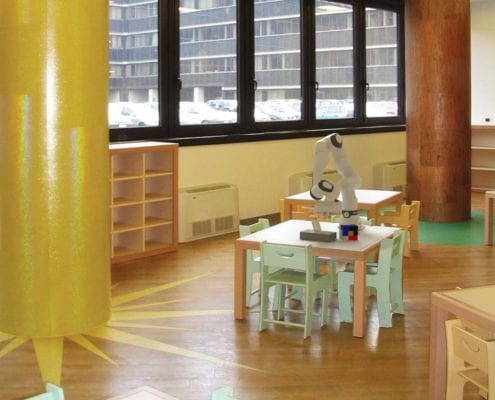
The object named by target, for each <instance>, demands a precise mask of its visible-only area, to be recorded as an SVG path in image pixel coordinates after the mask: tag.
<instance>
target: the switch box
mask: <svg viewBox="0 0 495 400" xmlns="http://www.w3.org/2000/svg"><path fill="white" fill-rule="evenodd" d="M321 230H322V229H321ZM337 234H338V233H337V231H331V230H325V229H324V230H322V231H321V232H317V231H314V229H310V228H308V229H307V228H306V229H304V230H301V231H299V240H305V239H306V240H307V241H317V242H324V241H326V243H330V242H333V241H335V240H337V237H338V236H337Z"/></svg>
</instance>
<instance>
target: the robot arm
mask: <svg viewBox="0 0 495 400" xmlns="http://www.w3.org/2000/svg"><path fill="white" fill-rule="evenodd" d="M330 153H331V157H332V160H333V163H334V166H335V168H336V171H337V172H338V173H339V174H340V175H341V178H340V179H339V180H338V181H337V182H336V181H328V180H326V179H322V175H323V173H324V171H325V169H326V168H327V167H328V165H329V162H330ZM311 180H312V181H311V188H310V190H309V196H310V197H311V199H313V201H314V200H315V201H317V202H316V203H315V204H314V207H313V208H312V212H313V214H314V215H322V216H321V217H322V220H327V219H328V218H329V217H330V216H331V215H332V216H339V221H338V222H339V223H338V224H355V225H357V226H358V231H359V230H360V231H362V230H364V228H366V225H363V219H362V218H361V216H360V214H359V213H360V209H358V198H357V195H356V190H358V189H360V188H361V187H362V185H363V178H362V177H361V176H359V174H358V173H357V172H356V170H355V169H354V167H353V165H352V163H351V160H350V158H349V155H348V153H347V151H346V149H345V147H344V145H343V138H342V136H341V135H340V134H339V133H337V132H335V133H331V134H328V135H326V136H325V137H323V138H322V139H320V140H318V141H315V143H314V146H313V165H312V179H311ZM340 194H341V195H340ZM340 196H341V199H339V198H340ZM323 198H324V201H323V202H322V199H323ZM337 228H338V229H339V225H337Z"/></svg>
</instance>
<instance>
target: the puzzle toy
mask: <svg viewBox="0 0 495 400" xmlns="http://www.w3.org/2000/svg"><path fill="white" fill-rule="evenodd" d="M338 224H339V223H338ZM338 226H339V228H338V229H339V230H338V235H339V237H338V239H340V240H341V241H343V242H350V241H351V242H352V241H353V242H355V241H359V230H358V226H357V225H355V224H339V225H338Z"/></svg>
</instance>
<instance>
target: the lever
mask: <svg viewBox="0 0 495 400" xmlns="http://www.w3.org/2000/svg"><path fill="white" fill-rule="evenodd" d="M309 214H310V213H309ZM319 218H320V216H319V214H310V215H309V216H308V219H309V220H310V222H311V225H312V230H314V231H317V232H321V231H322V227H321V223H320V220H319Z"/></svg>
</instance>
